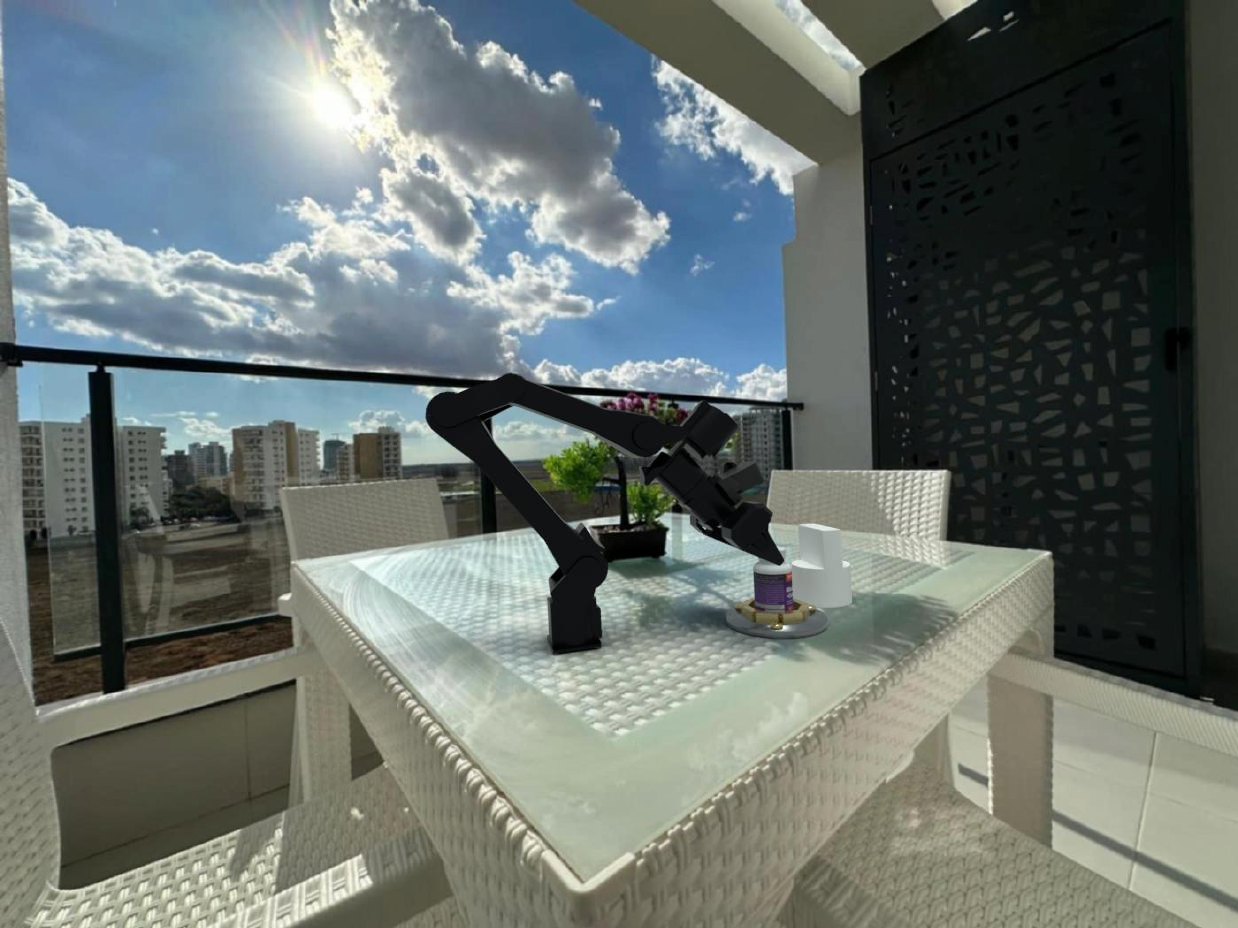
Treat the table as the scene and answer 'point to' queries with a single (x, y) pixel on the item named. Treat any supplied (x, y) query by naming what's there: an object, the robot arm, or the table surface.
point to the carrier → (777, 621)
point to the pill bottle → (773, 585)
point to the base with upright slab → (821, 568)
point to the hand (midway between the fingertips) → (767, 557)
